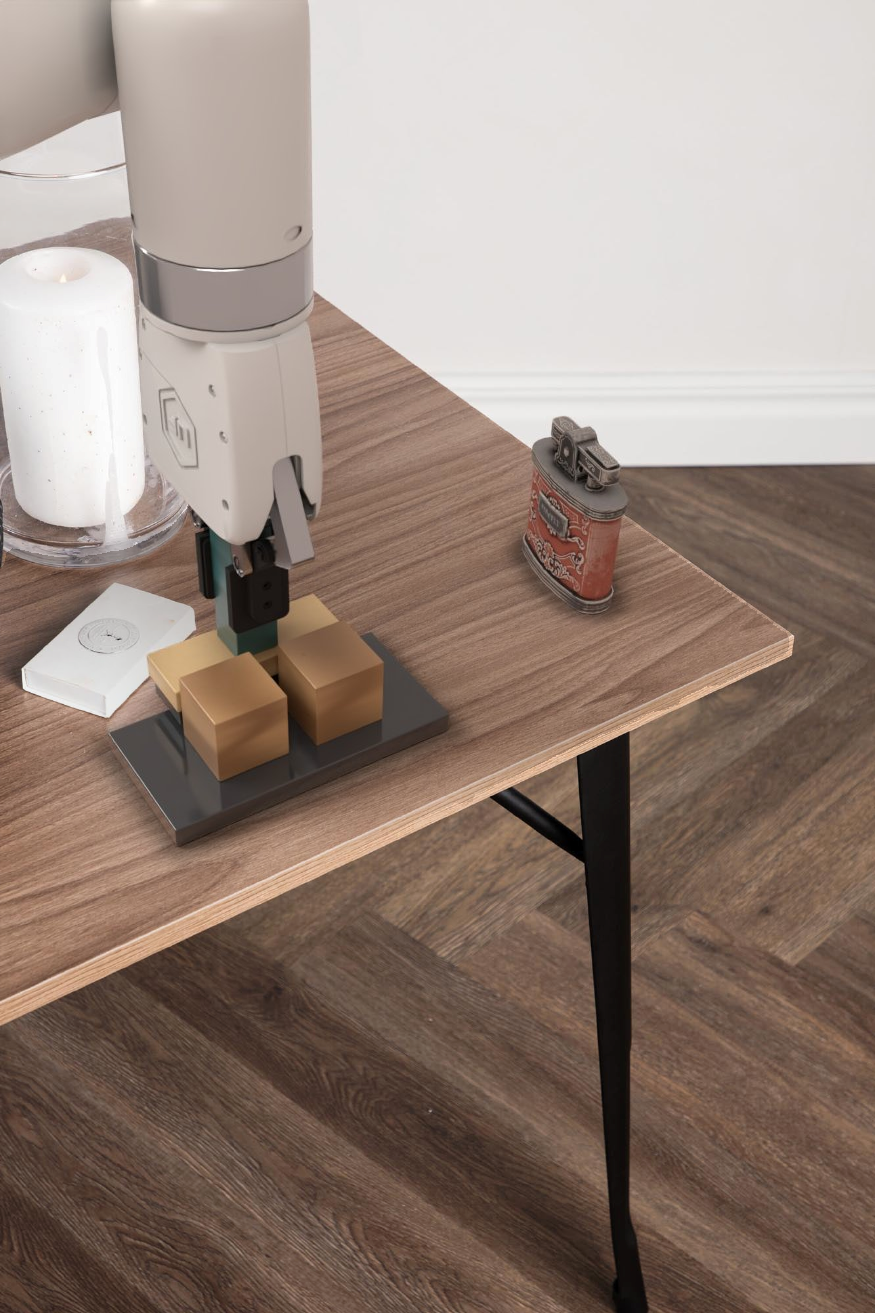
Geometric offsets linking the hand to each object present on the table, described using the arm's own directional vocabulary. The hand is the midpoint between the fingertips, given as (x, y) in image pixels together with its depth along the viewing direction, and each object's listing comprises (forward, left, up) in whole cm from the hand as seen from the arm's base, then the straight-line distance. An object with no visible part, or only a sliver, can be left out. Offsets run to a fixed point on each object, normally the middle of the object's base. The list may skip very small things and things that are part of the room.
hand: (244, 603), depth 73 cm
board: (+3, -2, -7) cm, 8 cm away
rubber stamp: (0, 0, -5) cm, 5 cm away
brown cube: (+5, -1, -6) cm, 7 cm away
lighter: (+15, +16, -7) cm, 23 cm away
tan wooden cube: (+1, -5, -6) cm, 7 cm away
